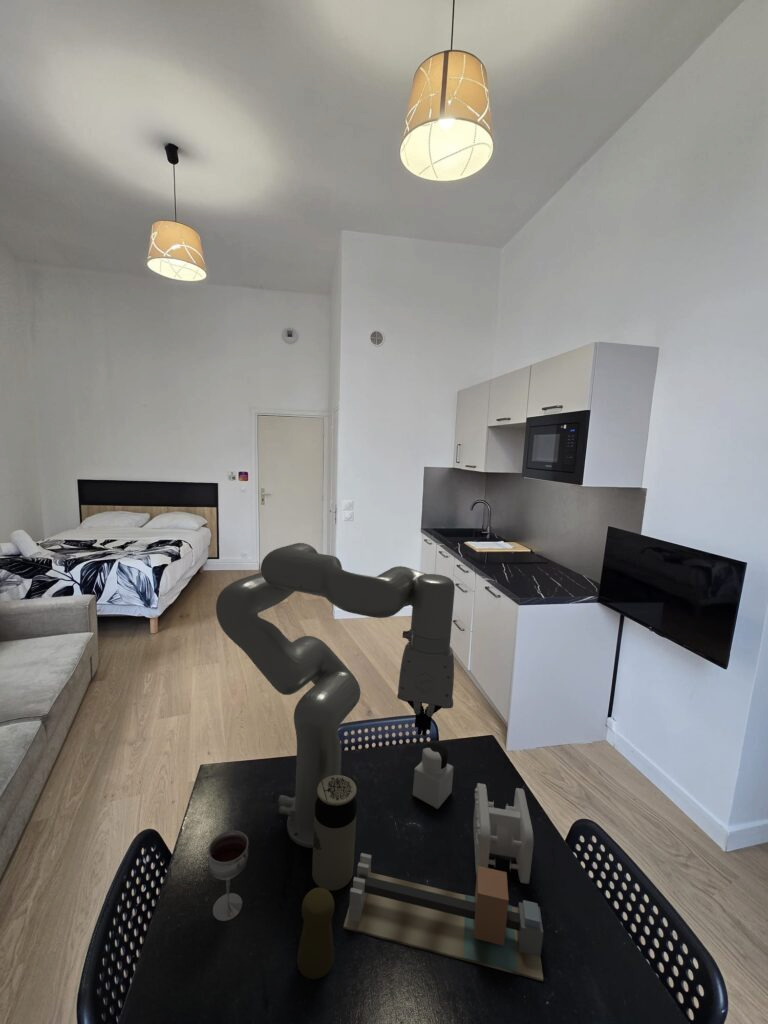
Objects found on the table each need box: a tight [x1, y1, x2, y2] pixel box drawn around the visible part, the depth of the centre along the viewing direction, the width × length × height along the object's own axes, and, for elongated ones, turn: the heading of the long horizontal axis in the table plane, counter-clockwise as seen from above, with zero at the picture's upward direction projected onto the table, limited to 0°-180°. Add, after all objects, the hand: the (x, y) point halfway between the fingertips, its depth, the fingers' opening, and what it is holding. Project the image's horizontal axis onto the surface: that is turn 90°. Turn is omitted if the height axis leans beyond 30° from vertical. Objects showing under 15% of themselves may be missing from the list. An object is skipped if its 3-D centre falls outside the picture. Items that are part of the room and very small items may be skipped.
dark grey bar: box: [359, 875, 520, 931], centre depth 80 cm, size 30×2×2 cm, turn 79°
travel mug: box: [311, 774, 358, 891], centre depth 87 cm, size 8×8×18 cm
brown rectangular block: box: [473, 866, 510, 946], centre depth 78 cm, size 5×5×9 cm
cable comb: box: [348, 852, 372, 922], centre depth 83 cm, size 2×8×6 cm, turn 169°
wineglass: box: [207, 830, 250, 922], centre depth 80 cm, size 7×7×12 cm
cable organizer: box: [472, 782, 535, 885], centre depth 93 cm, size 15×11×12 cm
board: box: [343, 872, 544, 982], centre depth 80 cm, size 33×11×1 cm, turn 79°
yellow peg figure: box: [296, 886, 335, 980], centre depth 72 cm, size 6×6×11 cm
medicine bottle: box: [412, 742, 454, 810], centre depth 109 cm, size 7×7×12 cm
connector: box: [517, 899, 544, 957], centre depth 77 cm, size 4×4×6 cm
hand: (422, 730), depth 87 cm, fingers closed
